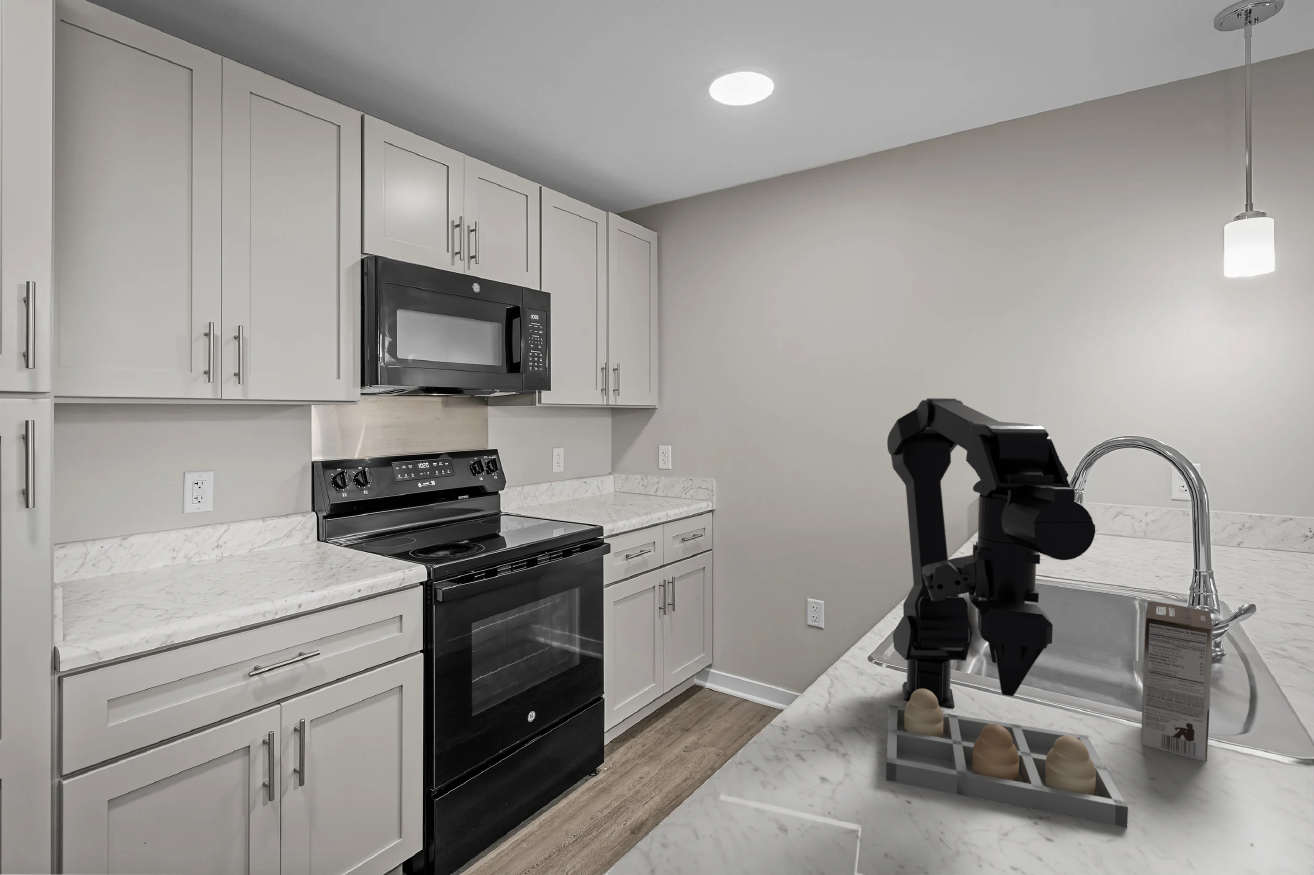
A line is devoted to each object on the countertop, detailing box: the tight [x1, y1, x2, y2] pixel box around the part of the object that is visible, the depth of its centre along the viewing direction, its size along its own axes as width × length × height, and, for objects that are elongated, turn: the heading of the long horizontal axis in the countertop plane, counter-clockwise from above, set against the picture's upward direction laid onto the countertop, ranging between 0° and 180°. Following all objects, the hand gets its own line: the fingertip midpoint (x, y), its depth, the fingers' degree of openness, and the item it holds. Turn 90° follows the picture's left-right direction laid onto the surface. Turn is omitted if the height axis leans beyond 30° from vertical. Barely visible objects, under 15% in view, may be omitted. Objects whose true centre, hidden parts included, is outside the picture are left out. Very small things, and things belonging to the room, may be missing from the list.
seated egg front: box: [1045, 736, 1096, 796], centre depth 68 cm, size 4×4×6 cm
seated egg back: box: [904, 689, 944, 738], centre depth 79 cm, size 4×4×6 cm
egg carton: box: [885, 704, 1129, 829], centre depth 74 cm, size 15×22×2 cm
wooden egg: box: [972, 724, 1019, 782], centre depth 70 cm, size 4×4×6 cm
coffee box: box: [1140, 600, 1214, 762], centre depth 80 cm, size 9×6×16 cm
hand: (1002, 677), depth 72 cm, fingers open, 9 cm apart
